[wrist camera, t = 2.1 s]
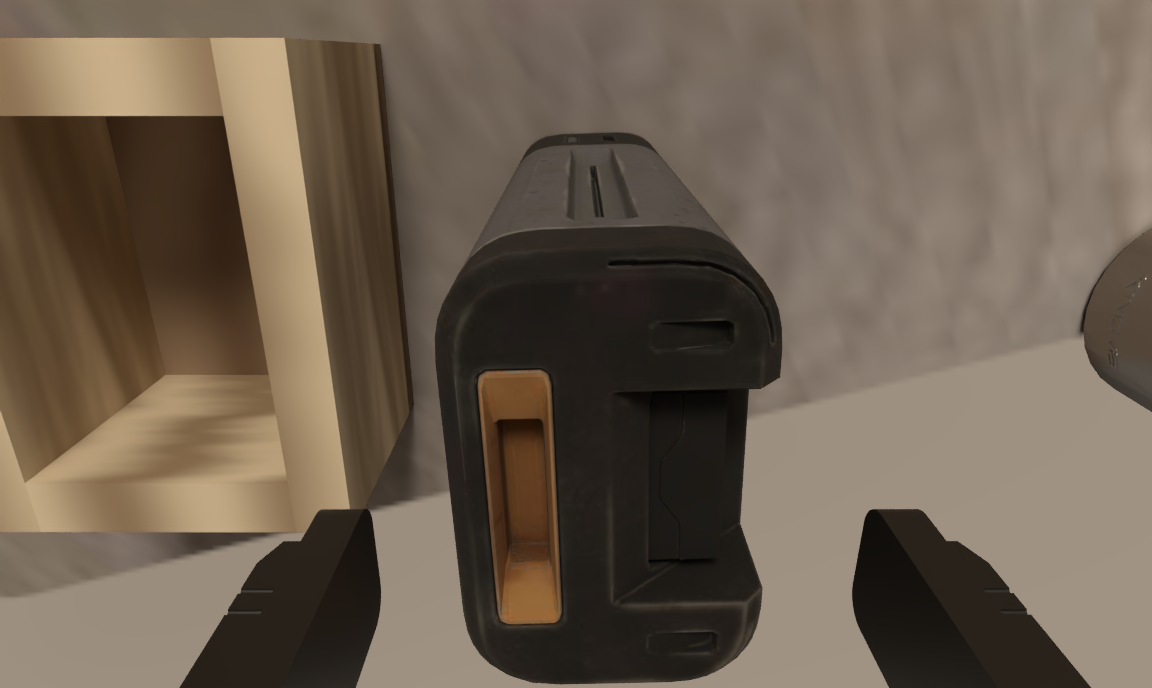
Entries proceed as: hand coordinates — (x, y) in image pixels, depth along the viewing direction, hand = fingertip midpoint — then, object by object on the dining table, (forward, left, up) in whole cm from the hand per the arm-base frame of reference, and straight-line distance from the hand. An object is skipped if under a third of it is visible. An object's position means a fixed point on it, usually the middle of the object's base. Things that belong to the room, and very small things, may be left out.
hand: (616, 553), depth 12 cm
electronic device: (0, 0, -22) cm, 22 cm away
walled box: (+15, 0, -21) cm, 26 cm away
